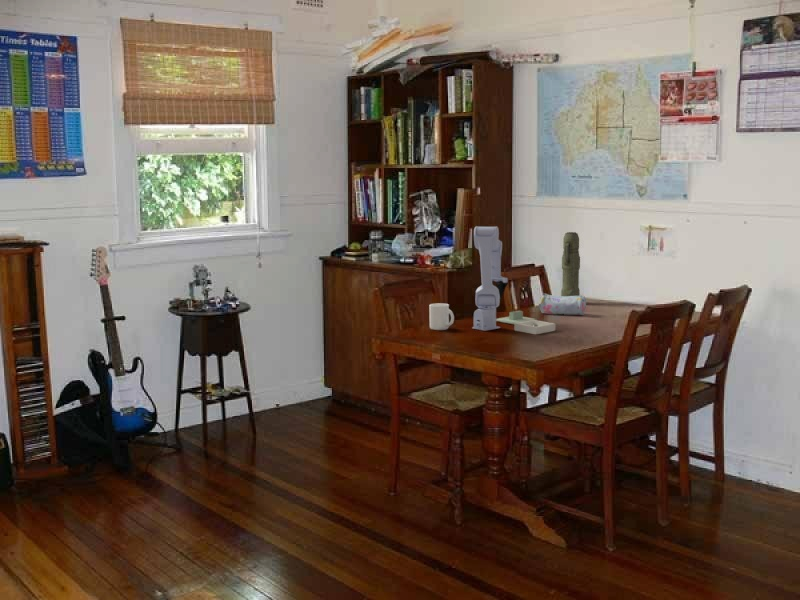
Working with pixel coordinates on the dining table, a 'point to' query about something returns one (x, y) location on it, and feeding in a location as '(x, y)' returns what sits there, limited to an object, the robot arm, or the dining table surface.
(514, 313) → the lid
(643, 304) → the dining table surface
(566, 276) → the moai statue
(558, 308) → the pencil case
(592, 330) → the dining table surface
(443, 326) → the mug
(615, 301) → the dining table surface
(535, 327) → the box
